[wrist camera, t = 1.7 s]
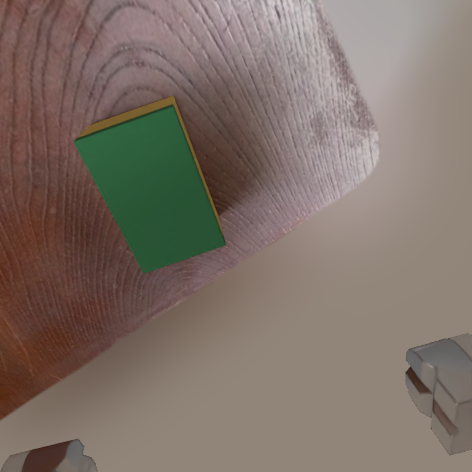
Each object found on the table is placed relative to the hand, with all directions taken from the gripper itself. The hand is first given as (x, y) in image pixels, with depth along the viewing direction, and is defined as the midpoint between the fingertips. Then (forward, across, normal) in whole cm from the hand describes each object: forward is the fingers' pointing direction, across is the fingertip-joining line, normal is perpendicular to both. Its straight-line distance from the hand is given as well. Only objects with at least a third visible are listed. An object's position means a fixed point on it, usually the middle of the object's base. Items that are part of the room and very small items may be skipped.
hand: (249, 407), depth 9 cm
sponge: (+16, +2, -1) cm, 17 cm away
